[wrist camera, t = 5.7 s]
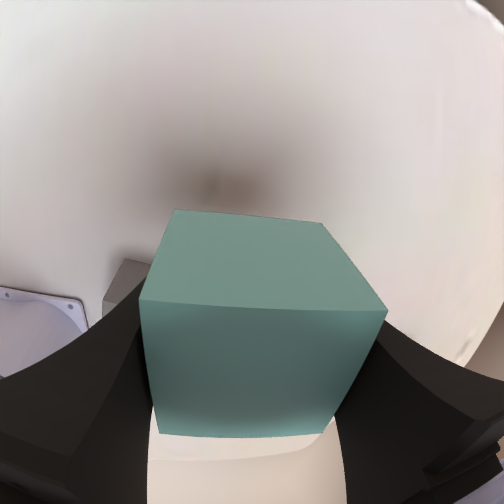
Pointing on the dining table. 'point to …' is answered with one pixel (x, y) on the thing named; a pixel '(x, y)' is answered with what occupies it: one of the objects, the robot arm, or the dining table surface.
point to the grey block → (124, 283)
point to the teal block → (253, 326)
